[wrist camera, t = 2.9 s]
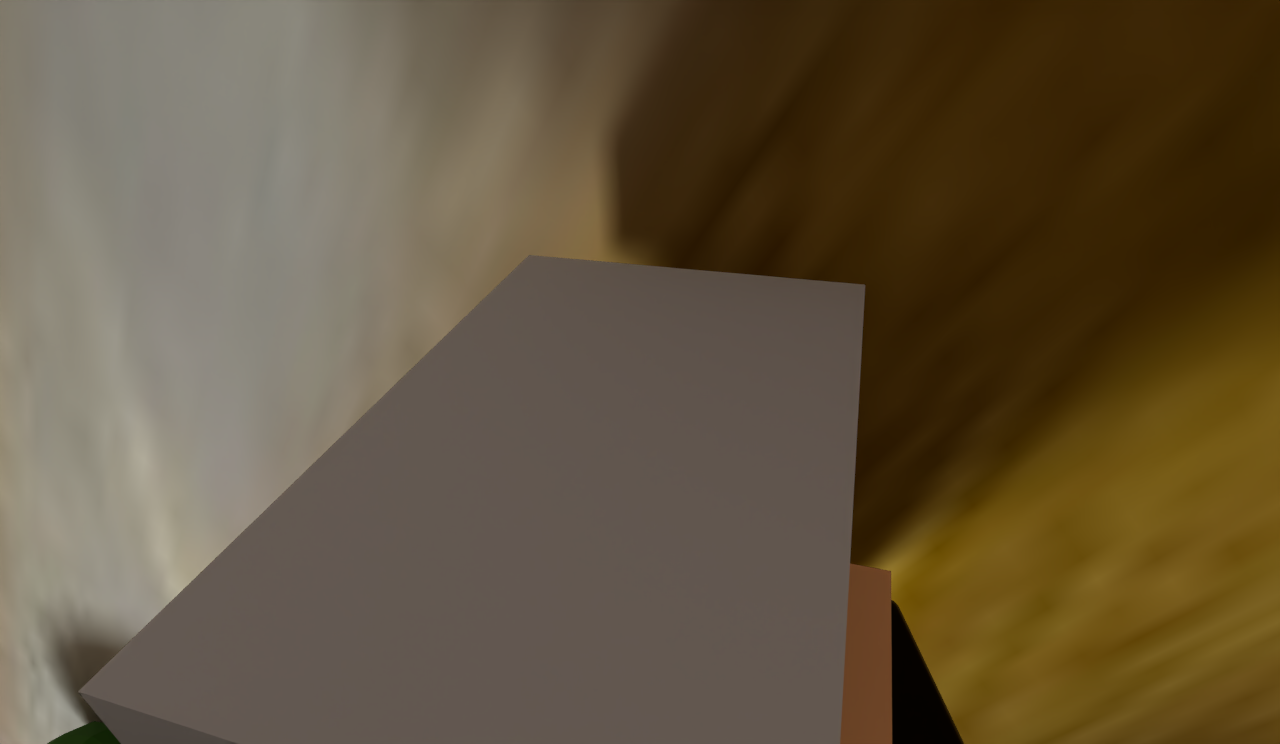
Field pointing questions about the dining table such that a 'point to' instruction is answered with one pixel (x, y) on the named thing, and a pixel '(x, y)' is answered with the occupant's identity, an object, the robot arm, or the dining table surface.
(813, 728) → the white block orange stripe
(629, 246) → the dining table surface
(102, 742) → the bell pepper
